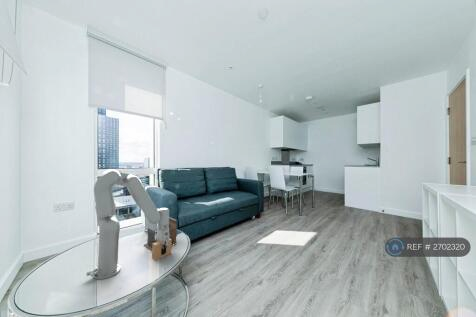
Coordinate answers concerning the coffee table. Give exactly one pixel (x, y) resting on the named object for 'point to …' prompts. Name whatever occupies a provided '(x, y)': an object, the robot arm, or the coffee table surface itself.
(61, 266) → the coffee table surface
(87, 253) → the coffee table surface
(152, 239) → the book rack
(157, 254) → the book
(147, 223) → the hard drive box
